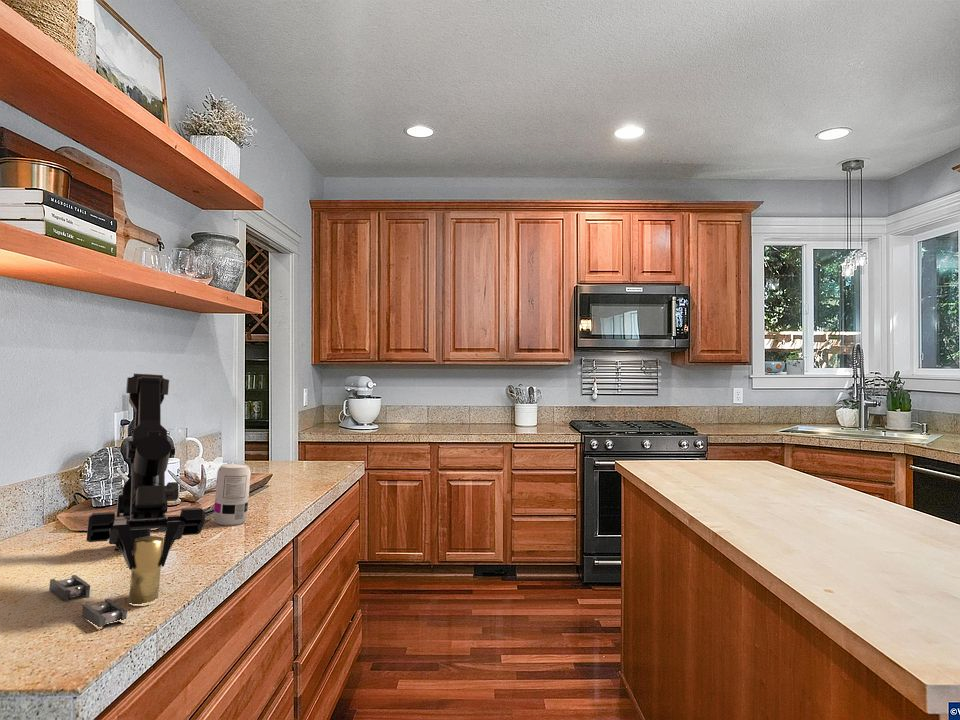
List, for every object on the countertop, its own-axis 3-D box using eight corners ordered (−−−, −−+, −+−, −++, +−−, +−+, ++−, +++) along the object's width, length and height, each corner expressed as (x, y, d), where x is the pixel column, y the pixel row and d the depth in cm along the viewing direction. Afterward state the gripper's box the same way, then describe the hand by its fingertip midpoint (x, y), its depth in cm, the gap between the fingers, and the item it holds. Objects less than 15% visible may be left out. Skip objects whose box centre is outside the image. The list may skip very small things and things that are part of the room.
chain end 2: (81, 616, 101) (82, 604, 101) (107, 610, 104) (109, 598, 104) (98, 630, 96) (99, 617, 96) (125, 623, 100) (126, 611, 100)
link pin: (133, 596, 110) (139, 535, 110) (161, 596, 111) (166, 536, 111) (124, 606, 106) (130, 543, 106) (153, 606, 107) (159, 543, 107)
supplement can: (206, 523, 159) (211, 466, 159) (226, 516, 167) (231, 461, 167) (233, 527, 157) (238, 469, 157) (252, 520, 165) (257, 465, 165)
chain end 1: (49, 590, 110) (50, 579, 110) (74, 585, 113) (75, 574, 113) (63, 602, 105) (64, 590, 105) (89, 596, 109) (90, 585, 109)
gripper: (93, 467, 107) (86, 549, 98) (208, 465, 117) (212, 539, 108) (89, 502, 114) (83, 581, 104) (198, 497, 124) (201, 569, 114)
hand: (147, 567), depth 107 cm, fingers closed on link pin, 5 cm apart
